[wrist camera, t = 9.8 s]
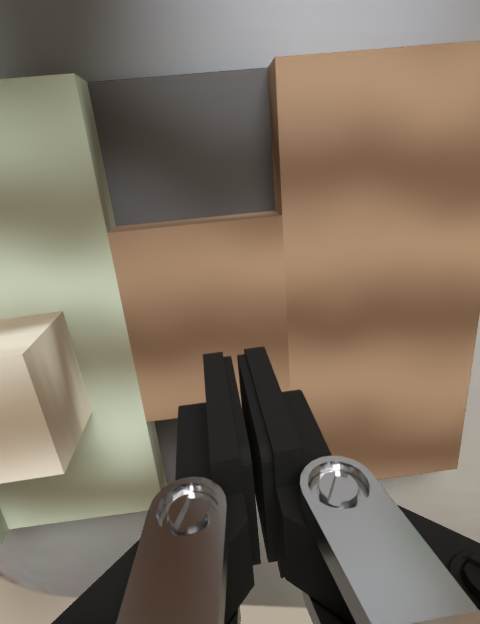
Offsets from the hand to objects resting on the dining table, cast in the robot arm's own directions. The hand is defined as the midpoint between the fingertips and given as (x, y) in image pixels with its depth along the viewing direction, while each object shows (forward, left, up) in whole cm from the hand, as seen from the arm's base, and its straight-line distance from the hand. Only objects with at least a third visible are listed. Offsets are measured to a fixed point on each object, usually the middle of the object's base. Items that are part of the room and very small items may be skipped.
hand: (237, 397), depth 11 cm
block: (+2, -9, -7) cm, 12 cm away
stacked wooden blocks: (+1, -1, -9) cm, 9 cm away
